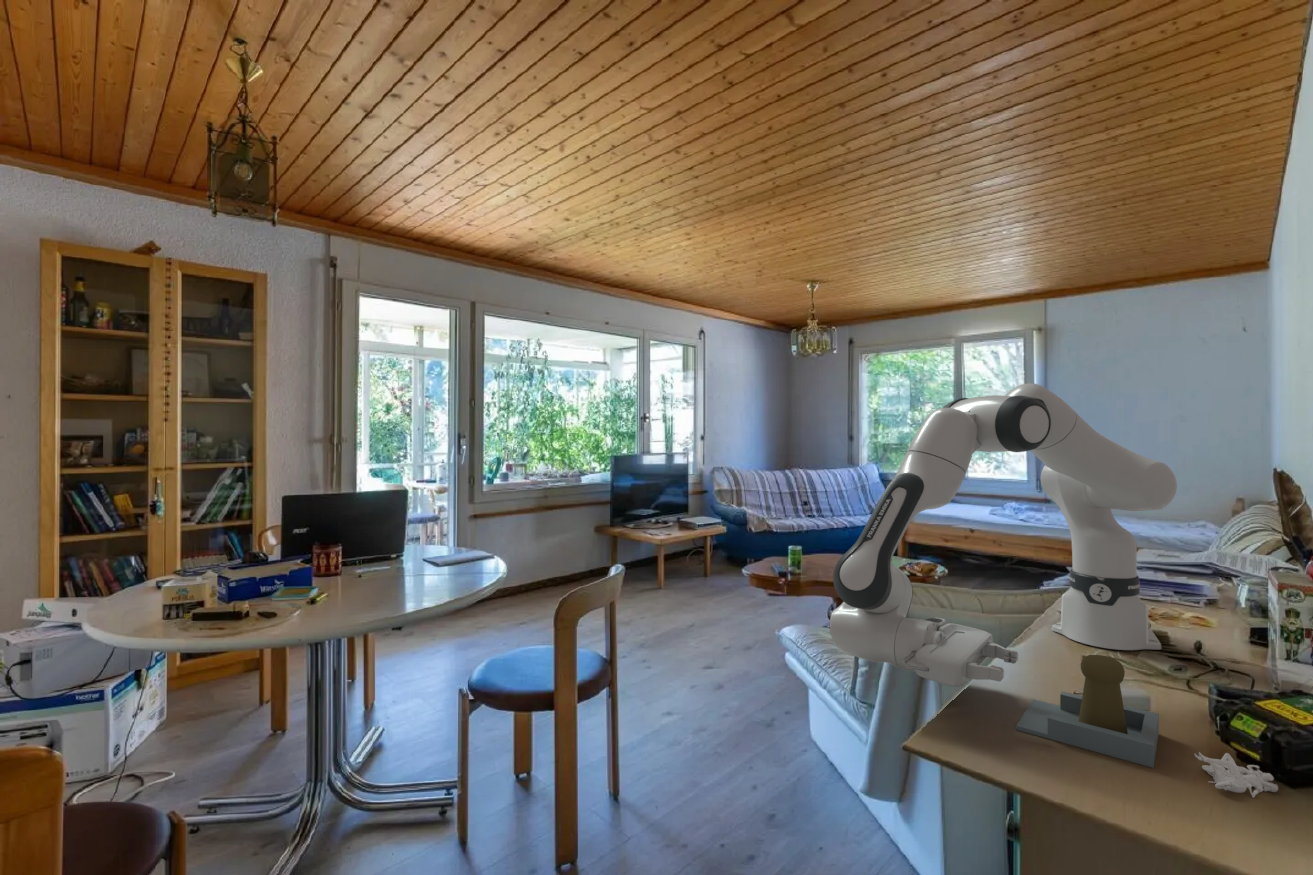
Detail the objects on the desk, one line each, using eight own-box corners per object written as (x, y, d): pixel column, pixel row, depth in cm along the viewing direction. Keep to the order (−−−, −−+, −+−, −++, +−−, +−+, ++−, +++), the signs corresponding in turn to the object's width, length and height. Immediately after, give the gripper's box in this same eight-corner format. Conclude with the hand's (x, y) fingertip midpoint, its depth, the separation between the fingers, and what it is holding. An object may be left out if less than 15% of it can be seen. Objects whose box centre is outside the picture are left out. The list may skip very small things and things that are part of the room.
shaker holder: (1033, 702, 101) (1033, 684, 101) (1158, 733, 90) (1158, 713, 90) (1016, 729, 92) (1016, 709, 92) (1153, 767, 81) (1153, 745, 81)
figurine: (1267, 781, 79) (1295, 812, 72) (1190, 765, 83) (1209, 792, 76) (1267, 757, 79) (1295, 786, 72) (1190, 742, 83) (1209, 767, 76)
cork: (1136, 745, 86) (1136, 667, 86) (1087, 740, 88) (1087, 663, 88) (1116, 725, 92) (1116, 651, 92) (1070, 720, 94) (1070, 648, 93)
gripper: (898, 644, 99) (993, 665, 90) (939, 615, 115) (1024, 630, 105) (898, 683, 99) (993, 708, 90) (939, 648, 115) (1024, 667, 105)
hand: (1010, 666), depth 98 cm, fingers open, 8 cm apart
